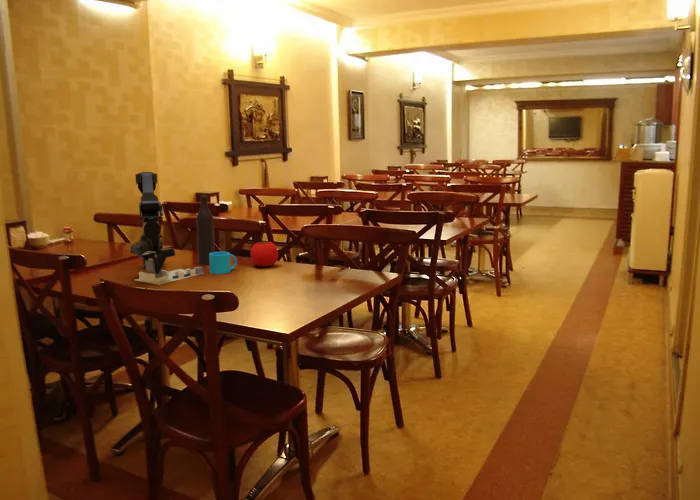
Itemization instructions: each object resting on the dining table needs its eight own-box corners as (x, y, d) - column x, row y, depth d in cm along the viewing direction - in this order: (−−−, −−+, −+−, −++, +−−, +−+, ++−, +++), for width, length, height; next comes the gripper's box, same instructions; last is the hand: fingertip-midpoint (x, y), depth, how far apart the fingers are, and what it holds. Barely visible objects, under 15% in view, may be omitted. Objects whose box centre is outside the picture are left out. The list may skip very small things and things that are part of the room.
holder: (138, 279, 227) (138, 271, 226) (154, 275, 233) (153, 268, 232) (154, 282, 222) (153, 274, 222) (169, 278, 228) (168, 271, 228)
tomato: (275, 262, 261) (275, 237, 259) (281, 268, 250) (280, 242, 248) (248, 264, 257) (247, 239, 255) (252, 270, 247) (251, 243, 245)
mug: (216, 276, 235) (215, 256, 233) (206, 273, 241) (205, 253, 239) (242, 272, 243) (241, 252, 242) (231, 268, 249) (231, 249, 247)
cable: (172, 278, 228) (171, 276, 228) (192, 273, 237) (192, 271, 237) (176, 279, 227) (176, 277, 227) (196, 274, 236) (196, 272, 236)
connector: (146, 275, 227) (145, 258, 225) (154, 273, 230) (153, 256, 229) (153, 277, 225) (152, 259, 223) (161, 275, 228) (160, 257, 227)
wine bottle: (217, 265, 256) (214, 195, 250) (201, 267, 252) (198, 196, 246) (211, 262, 261) (208, 194, 256) (195, 264, 258) (192, 195, 252)
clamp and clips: (173, 277, 230) (172, 271, 229) (196, 272, 240) (196, 266, 239) (181, 279, 228) (180, 273, 227) (204, 273, 238) (203, 267, 237)
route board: (133, 281, 226) (133, 279, 226) (180, 270, 245) (180, 268, 245) (158, 286, 219) (158, 284, 219) (204, 274, 238) (204, 273, 238)
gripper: (117, 233, 222) (120, 274, 225) (150, 237, 213) (153, 280, 215) (141, 229, 232) (144, 268, 234) (174, 233, 222) (177, 274, 225)
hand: (153, 273), depth 227 cm, fingers closed on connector, 4 cm apart
